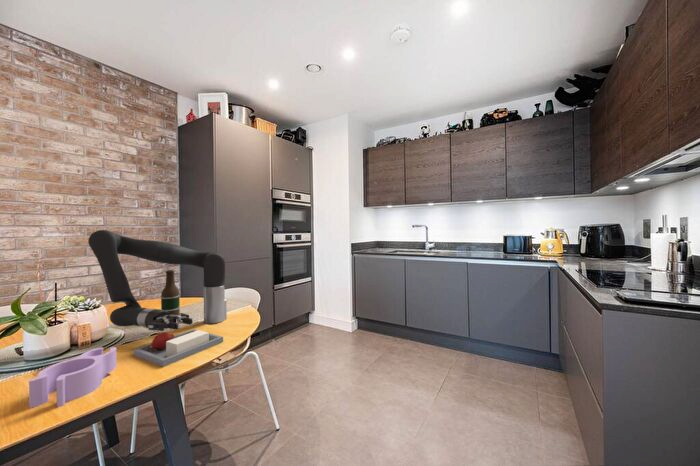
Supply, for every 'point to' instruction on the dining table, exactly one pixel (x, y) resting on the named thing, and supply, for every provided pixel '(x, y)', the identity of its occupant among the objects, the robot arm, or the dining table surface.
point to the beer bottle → (170, 295)
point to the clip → (72, 377)
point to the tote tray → (163, 360)
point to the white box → (186, 342)
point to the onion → (161, 340)
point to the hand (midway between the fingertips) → (184, 324)
